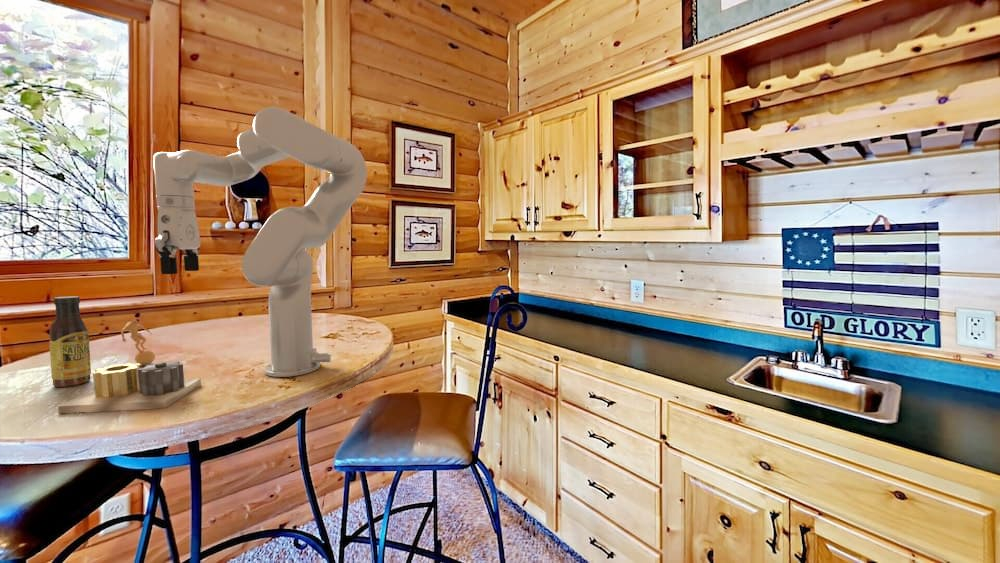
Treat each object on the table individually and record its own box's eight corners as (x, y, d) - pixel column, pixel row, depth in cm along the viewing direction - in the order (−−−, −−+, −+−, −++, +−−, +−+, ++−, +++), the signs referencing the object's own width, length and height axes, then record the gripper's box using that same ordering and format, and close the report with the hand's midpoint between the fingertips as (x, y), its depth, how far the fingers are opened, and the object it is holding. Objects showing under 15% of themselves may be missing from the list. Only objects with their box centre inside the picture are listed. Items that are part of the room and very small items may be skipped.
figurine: (139, 370, 105) (135, 323, 103) (115, 369, 105) (111, 322, 103) (165, 360, 113) (162, 316, 112) (143, 360, 113) (139, 316, 112)
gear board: (201, 384, 94) (198, 354, 94) (165, 407, 82) (162, 372, 81) (110, 389, 91) (107, 357, 91) (58, 414, 79) (54, 377, 78)
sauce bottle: (67, 389, 91) (57, 299, 89) (44, 387, 92) (34, 298, 90) (100, 379, 98) (92, 295, 96) (79, 377, 99) (70, 294, 97)
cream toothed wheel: (150, 384, 90) (148, 362, 89) (126, 397, 83) (124, 373, 82) (112, 386, 89) (110, 363, 88) (85, 399, 82) (82, 374, 81)
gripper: (172, 201, 96) (177, 275, 98) (210, 206, 113) (214, 269, 115) (135, 201, 95) (141, 275, 97) (179, 206, 112) (184, 269, 114)
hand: (181, 272), depth 106 cm, fingers open, 9 cm apart
